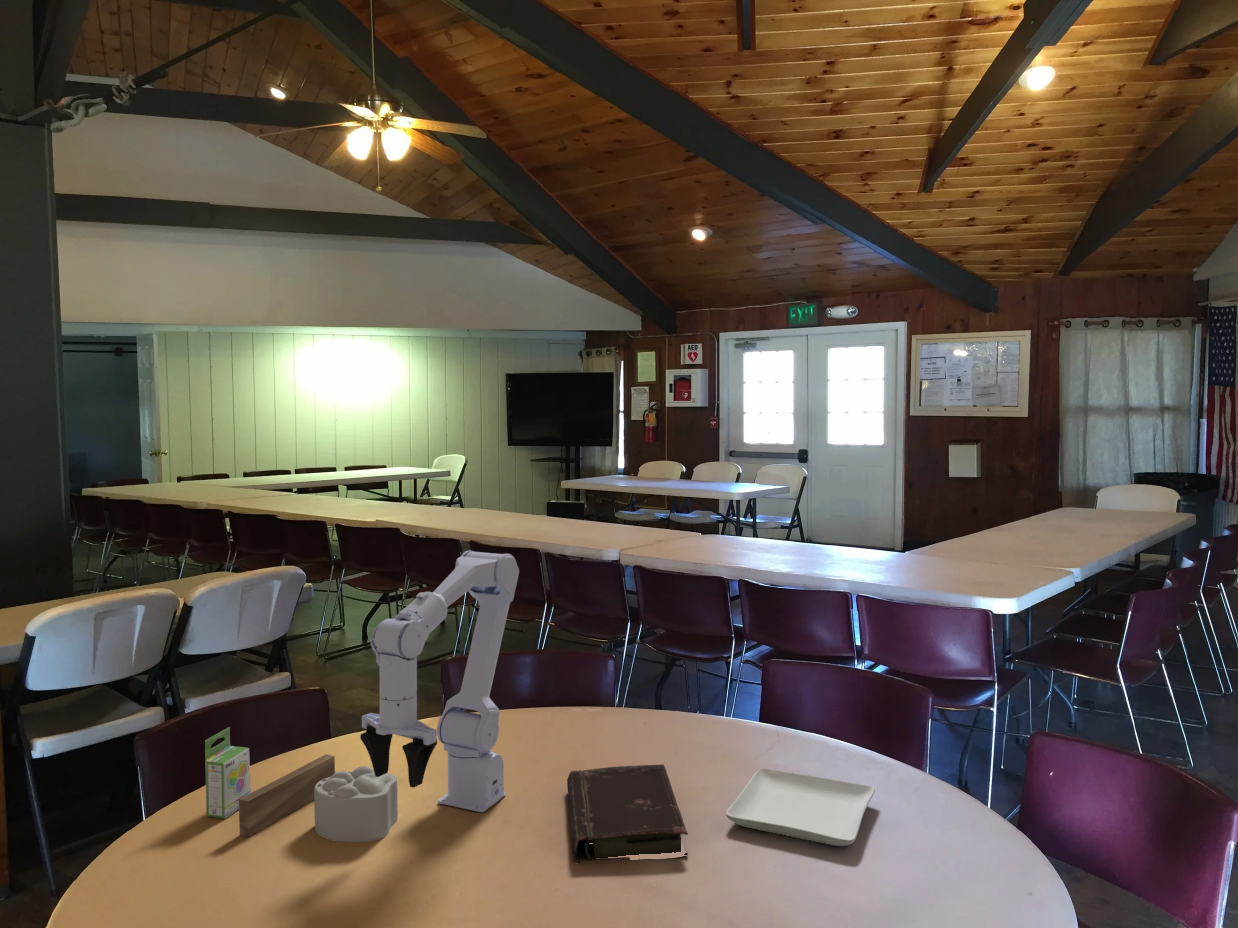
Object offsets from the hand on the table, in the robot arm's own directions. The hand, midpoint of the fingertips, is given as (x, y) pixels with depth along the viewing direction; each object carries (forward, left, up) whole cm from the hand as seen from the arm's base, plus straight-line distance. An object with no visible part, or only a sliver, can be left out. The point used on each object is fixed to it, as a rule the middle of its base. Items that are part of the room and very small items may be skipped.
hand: (398, 779), depth 136 cm
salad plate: (-57, -35, -11) cm, 68 cm away
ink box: (+35, +2, -11) cm, 37 cm away
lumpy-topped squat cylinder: (+11, -2, -11) cm, 16 cm away
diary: (-30, -21, -11) cm, 39 cm away
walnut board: (+25, -2, -11) cm, 27 cm away
